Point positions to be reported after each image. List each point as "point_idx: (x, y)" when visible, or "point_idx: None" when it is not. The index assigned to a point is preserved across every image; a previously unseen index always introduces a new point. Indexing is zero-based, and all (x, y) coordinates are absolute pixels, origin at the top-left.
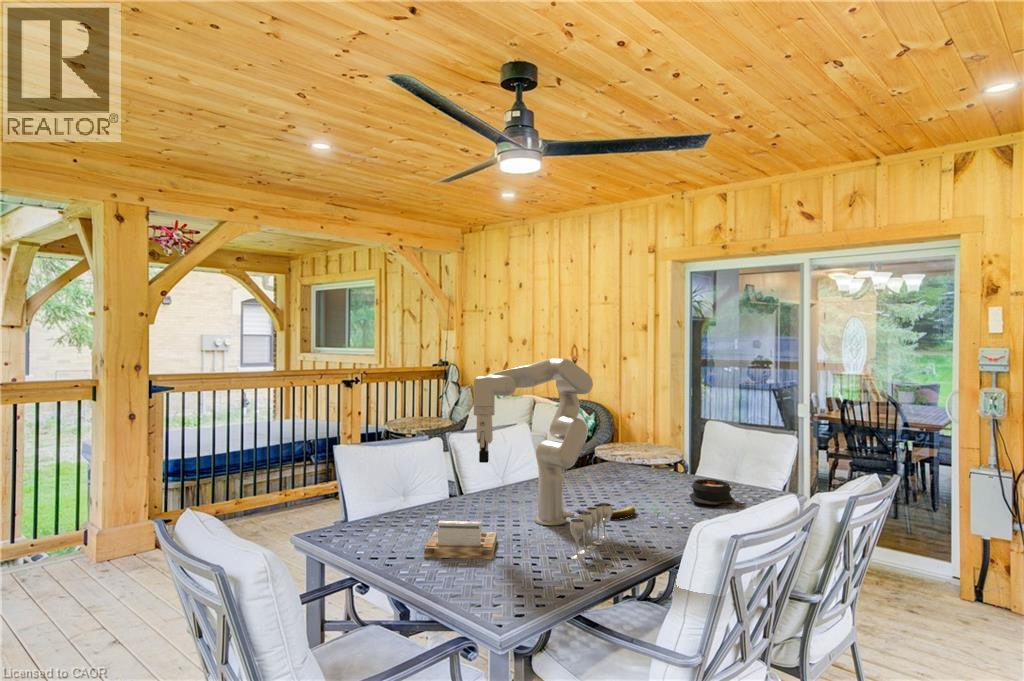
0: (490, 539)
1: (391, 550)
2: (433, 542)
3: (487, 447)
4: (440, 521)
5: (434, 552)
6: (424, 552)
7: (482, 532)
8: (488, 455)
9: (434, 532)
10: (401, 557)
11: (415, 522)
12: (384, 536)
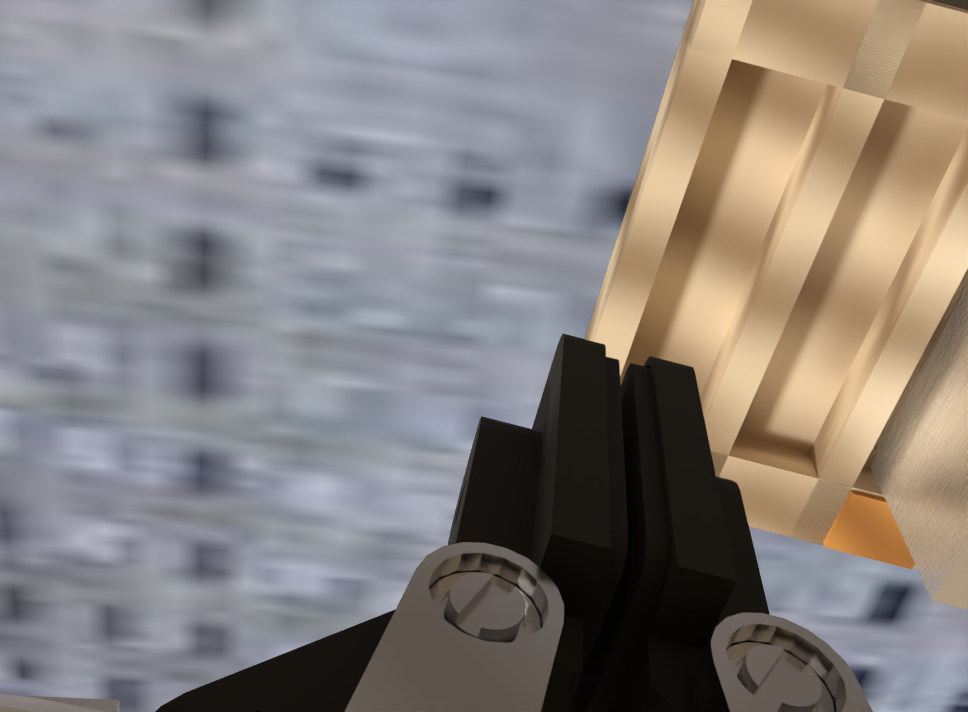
0: (935, 54)
1: None
2: (859, 517)
3: (551, 680)
4: (960, 595)
5: None
6: None
7: (690, 102)
8: (587, 432)
9: None
10: (865, 644)
11: (134, 522)
12: None
